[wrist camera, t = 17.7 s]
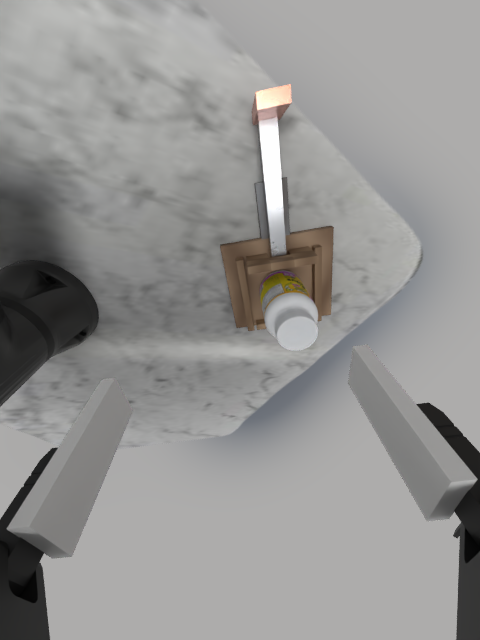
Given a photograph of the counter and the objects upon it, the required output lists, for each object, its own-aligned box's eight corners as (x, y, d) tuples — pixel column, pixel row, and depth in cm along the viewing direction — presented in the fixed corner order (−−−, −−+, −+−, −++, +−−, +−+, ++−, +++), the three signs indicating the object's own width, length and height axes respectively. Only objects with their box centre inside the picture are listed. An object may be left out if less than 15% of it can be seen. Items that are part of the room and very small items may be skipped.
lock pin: (266, 253, 35) (273, 269, 29) (251, 111, 27) (255, 91, 21) (287, 250, 34) (298, 265, 28) (278, 105, 26) (290, 84, 20)
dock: (236, 324, 42) (236, 345, 37) (209, 191, 32) (204, 194, 27) (328, 311, 41) (341, 330, 36) (332, 168, 31) (351, 166, 25)
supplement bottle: (309, 290, 38) (339, 337, 27) (275, 314, 40) (290, 367, 29) (284, 259, 35) (306, 297, 24) (250, 287, 38) (255, 333, 26)
